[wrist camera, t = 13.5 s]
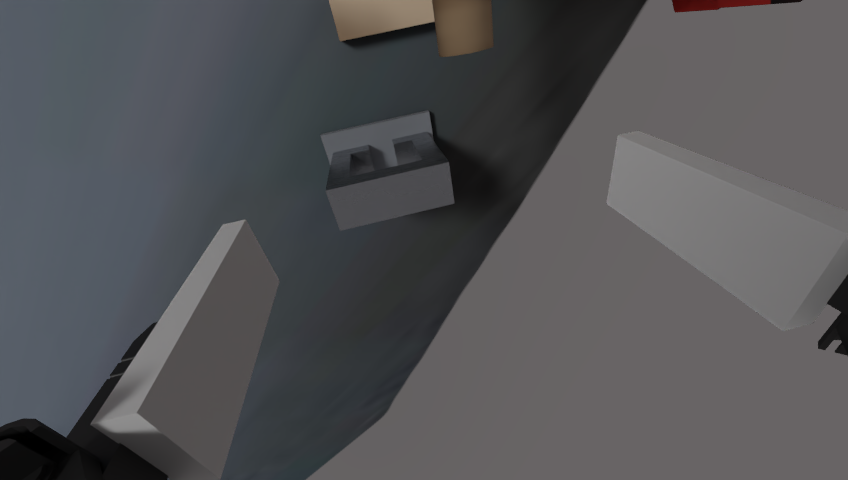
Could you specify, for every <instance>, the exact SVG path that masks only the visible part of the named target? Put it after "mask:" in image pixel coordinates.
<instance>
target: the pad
mask: <svg viewBox="0 0 848 480" xmlns="http://www.w3.org/2000/svg"><path fill="white" fill-rule="evenodd" d="M422 132H427V133H428V134H429V135H430V137H431V138H432V140H433V141H434V139H433V133H432V127H431V120H430V114H429V111H428V110H427V111H422V112H418V113H413V114H409V115H404V116H400V117H395V118H391V119H386V120H382V121H378V122H373V123H369V124H364V125H360V126H355V127H351V128H346V129H342V130H337V131H333V132H328V133H324V134H321V139H322V142H323V145H324V148H325V151H326V153H327V156H328V159H329V162H330V165H331V160H332V155H333V153H334V152H338V151H342V150H347V149H351V148H356V147H360V146H365V145H369V149H370V152H371V156H372V160H373V164H374V167H375V171H376V170H381V169H385V168H389V167H394V166H398V164H397V160H396V156H395V151H394V147H393V142H392V139H396V138H400V137H404V136H409V135H413V134H418V133H422Z"/></svg>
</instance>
